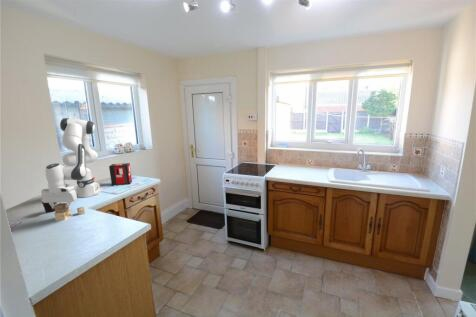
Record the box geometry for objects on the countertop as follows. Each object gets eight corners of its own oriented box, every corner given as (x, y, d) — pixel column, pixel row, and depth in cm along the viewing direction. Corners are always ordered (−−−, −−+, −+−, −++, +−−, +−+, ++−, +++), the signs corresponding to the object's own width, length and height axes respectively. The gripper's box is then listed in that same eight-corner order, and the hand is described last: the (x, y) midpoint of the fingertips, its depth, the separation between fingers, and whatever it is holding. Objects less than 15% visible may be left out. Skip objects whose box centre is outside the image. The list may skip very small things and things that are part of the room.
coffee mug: (50, 215, 157) (48, 202, 155) (41, 214, 159) (38, 201, 157) (66, 208, 168) (63, 196, 166) (57, 207, 170) (54, 195, 168)
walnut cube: (60, 209, 151) (59, 203, 150) (68, 209, 151) (67, 202, 150) (55, 213, 146) (54, 206, 145) (63, 212, 147) (62, 205, 146)
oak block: (62, 216, 153) (60, 209, 152) (71, 215, 153) (69, 209, 152) (55, 220, 147) (54, 213, 146) (65, 219, 147) (63, 213, 146)
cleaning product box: (132, 181, 231) (129, 163, 226) (129, 184, 222) (127, 165, 218) (114, 183, 227) (112, 164, 223) (111, 185, 219) (108, 166, 215)
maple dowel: (79, 212, 158) (78, 207, 157) (85, 211, 159) (84, 206, 158) (77, 215, 154) (76, 209, 153) (83, 214, 155) (82, 208, 154)
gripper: (37, 190, 142) (41, 210, 145) (70, 189, 143) (74, 209, 146) (44, 187, 148) (48, 206, 151) (76, 186, 149) (80, 205, 152)
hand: (61, 207), depth 148 cm, fingers open, 8 cm apart
